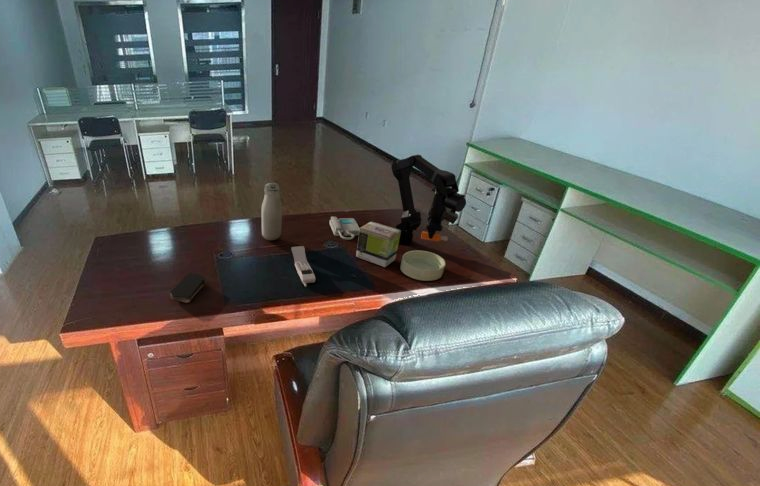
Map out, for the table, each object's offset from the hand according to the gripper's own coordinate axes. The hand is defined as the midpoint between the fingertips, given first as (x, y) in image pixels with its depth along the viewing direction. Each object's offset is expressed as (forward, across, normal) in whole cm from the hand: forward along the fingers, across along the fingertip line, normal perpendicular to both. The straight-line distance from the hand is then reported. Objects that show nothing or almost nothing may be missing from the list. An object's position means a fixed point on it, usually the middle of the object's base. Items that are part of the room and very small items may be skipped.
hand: (430, 237), depth 177 cm
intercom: (+9, +8, +39) cm, 41 cm away
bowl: (+9, -17, +1) cm, 19 cm away
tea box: (+9, -13, +21) cm, 26 cm away
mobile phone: (+9, -36, +48) cm, 61 cm away
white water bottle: (+9, -12, +72) cm, 74 cm away
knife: (+1, 0, -1) cm, 2 cm away
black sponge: (+9, -67, +86) cm, 110 cm away
